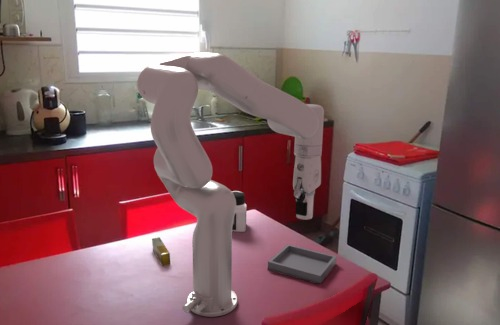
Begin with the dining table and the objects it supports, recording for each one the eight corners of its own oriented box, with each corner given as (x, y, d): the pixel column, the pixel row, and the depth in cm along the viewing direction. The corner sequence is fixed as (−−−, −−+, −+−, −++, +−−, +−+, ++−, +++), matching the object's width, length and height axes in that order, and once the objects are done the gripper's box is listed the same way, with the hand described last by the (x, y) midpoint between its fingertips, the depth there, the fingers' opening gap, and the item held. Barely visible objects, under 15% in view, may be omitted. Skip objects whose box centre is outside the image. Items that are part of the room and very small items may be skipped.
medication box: (152, 249, 142) (151, 238, 141) (160, 248, 143) (160, 236, 142) (162, 266, 131) (161, 254, 130) (171, 264, 133) (170, 252, 132)
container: (245, 232, 156) (246, 196, 153) (223, 231, 156) (223, 196, 153) (246, 223, 163) (246, 189, 160) (225, 223, 164) (225, 189, 160)
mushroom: (309, 221, 125) (310, 193, 123) (292, 217, 128) (294, 190, 125) (315, 215, 129) (317, 189, 127) (299, 212, 132) (301, 186, 130)
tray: (319, 284, 123) (320, 276, 122) (267, 269, 130) (268, 261, 130) (336, 264, 134) (336, 256, 134) (287, 251, 142) (287, 244, 141)
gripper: (309, 158, 115) (305, 224, 119) (331, 145, 129) (327, 205, 134) (282, 154, 118) (280, 218, 123) (306, 142, 132) (303, 200, 137)
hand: (304, 211), depth 128 cm, fingers closed on mushroom, 4 cm apart
